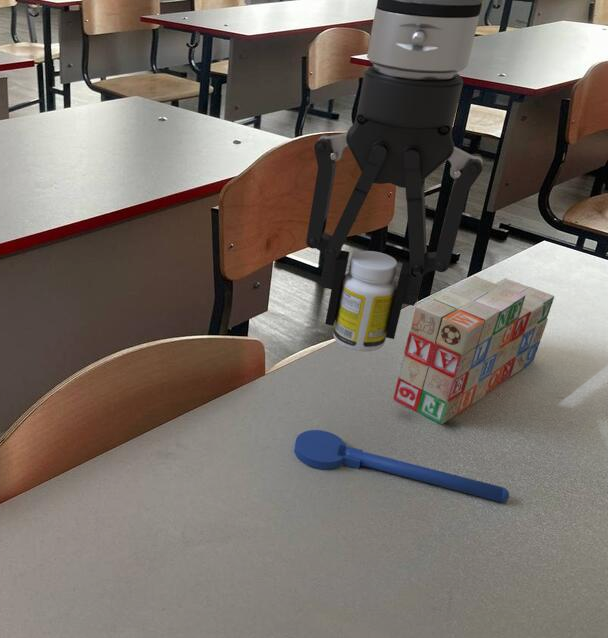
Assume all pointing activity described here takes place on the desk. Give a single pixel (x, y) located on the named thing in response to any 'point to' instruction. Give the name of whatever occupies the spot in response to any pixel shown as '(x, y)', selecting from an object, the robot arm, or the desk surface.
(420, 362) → the stack of blocks
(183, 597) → the desk surface
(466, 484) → the spoon
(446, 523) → the desk surface
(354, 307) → the supplement bottle
